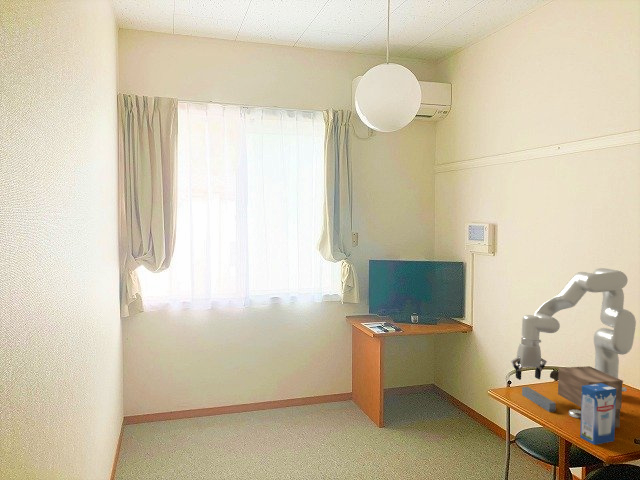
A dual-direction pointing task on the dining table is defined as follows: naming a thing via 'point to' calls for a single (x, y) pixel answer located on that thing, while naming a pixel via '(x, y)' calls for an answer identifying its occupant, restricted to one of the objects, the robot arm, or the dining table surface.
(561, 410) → the dining table surface
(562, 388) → the cabinet
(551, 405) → the gray rectangular bar
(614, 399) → the milk carton
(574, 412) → the steel token
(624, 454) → the dining table surface
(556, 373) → the hand tool
